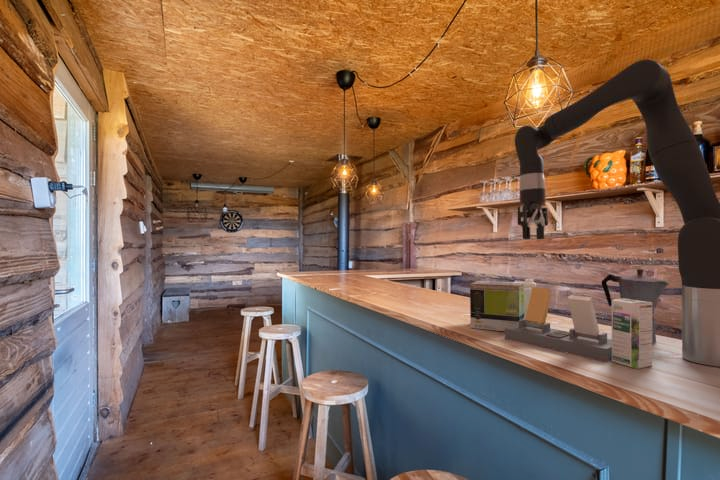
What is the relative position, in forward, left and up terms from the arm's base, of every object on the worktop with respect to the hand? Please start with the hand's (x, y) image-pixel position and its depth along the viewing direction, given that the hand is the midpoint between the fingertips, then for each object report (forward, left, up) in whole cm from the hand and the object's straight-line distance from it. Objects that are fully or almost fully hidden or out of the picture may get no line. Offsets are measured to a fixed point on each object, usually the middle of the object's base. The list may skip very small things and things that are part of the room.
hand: (533, 239), depth 120 cm
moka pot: (-25, -8, -29) cm, 39 cm away
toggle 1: (-8, +14, -24) cm, 29 cm away
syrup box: (-32, +16, -29) cm, 46 cm away
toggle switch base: (-15, +14, -29) cm, 35 cm away
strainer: (+5, -4, -29) cm, 29 cm away
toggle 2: (-22, +14, -24) cm, 36 cm away
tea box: (+7, +9, -29) cm, 31 cm away
